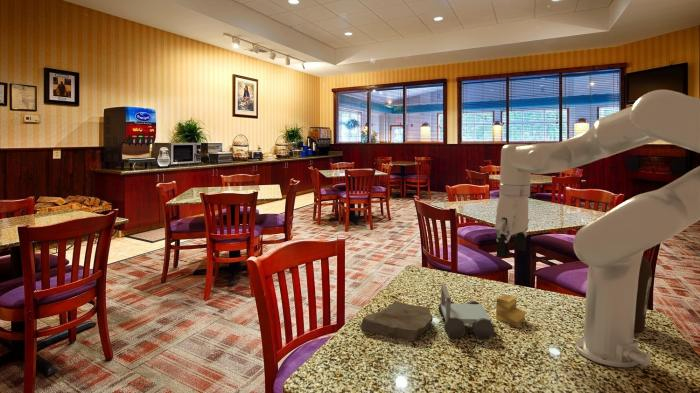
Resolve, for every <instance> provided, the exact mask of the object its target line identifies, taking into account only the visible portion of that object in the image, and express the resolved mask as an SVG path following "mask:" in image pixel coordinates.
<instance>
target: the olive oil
mask: <svg viewBox="0 0 700 393" xmlns="http://www.w3.org/2000/svg"><path fill="white" fill-rule="evenodd" d="M652 270H653V269H652V266H651V263H650V261H649V260H648V259H647V258H646V256H644V254H643V255H642V260H641V265H640V270H639V278H638V289H637V298H636V310H635V323H634V334H637V333H639V334H640V333H642V332H643V331H645V327H646V326H645V325H646V317H647V313H648V312H647V310H648V302H649V297H650V289H651V283H652V276H653V271H652Z"/></svg>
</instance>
